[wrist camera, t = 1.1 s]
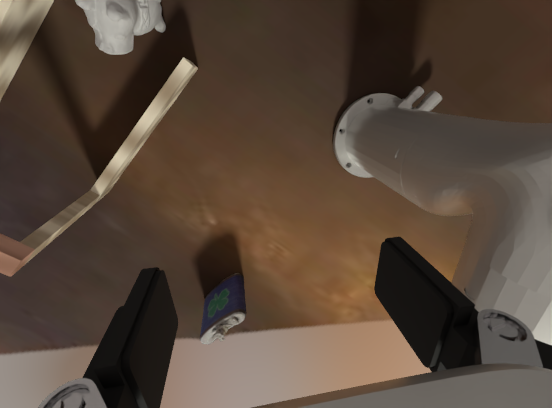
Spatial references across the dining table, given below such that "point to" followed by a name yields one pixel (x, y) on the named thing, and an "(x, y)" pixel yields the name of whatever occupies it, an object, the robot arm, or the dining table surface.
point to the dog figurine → (121, 21)
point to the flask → (223, 308)
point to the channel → (13, 255)
